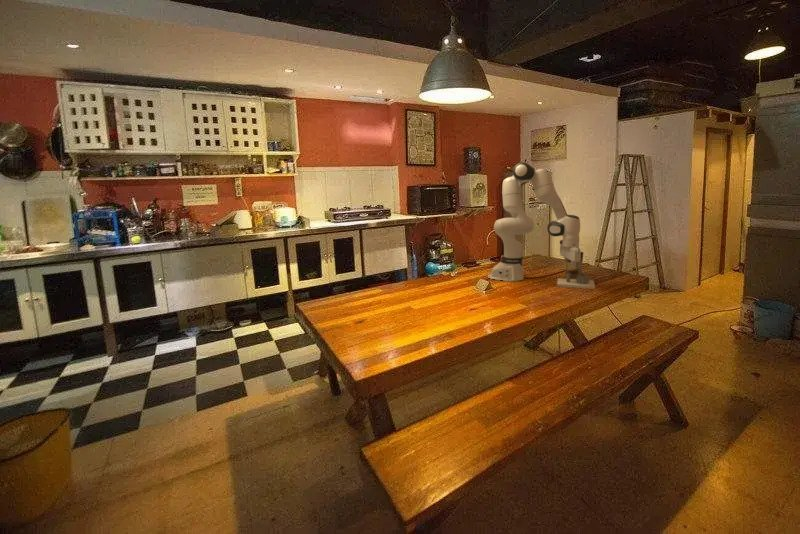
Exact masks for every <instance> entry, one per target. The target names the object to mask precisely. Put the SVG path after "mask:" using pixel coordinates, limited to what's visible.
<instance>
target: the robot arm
mask: <svg viewBox="0 0 800 534" xmlns="http://www.w3.org/2000/svg"><path fill="white" fill-rule="evenodd" d="M529 182H530V183H531V185H532V186H533V190H534V194H535V195H536V198H537V200H539V201H540V202H541V203H544V204H547V205H549V206H550V208H552V212H553V213H554V215H555V217H556V219H555V220H553V221H550V222H549V223H548V224H547V227H546V229H547V233H548V234H549V236H551V237H561V236H562V239H561V240H559V254H560V256H562V257H563V260H564V261H563V262H565V261H568V259H569V260H571V262H572V263H571V265H570V267H571V268H574V266H575V263H576V262H580V260H581V252H582V251H581V249H580V237H581V236H580V233H581V232H580V231H581V218H580V217H579V216H577V215H575V214H568V213H567V211H566V209H565V206H564V204H563V202H562V199H561V198H560V196H559V195H558V193H557V191H556V187H555V186H554V182H553V179H552V178H551V175H550V174H549V172H548V170H546V169H545V168H539V169H535V168H534V167H533V166H532V165H530V164H529V163H527V162H524V161H522V162H518V163H517V164H516V165H514V167H513V169H512V176H508V177H506V178H504V180H503V181H502V185H501V187H502V189H501V194H502V207H503V210H505V211H506V212H508V213H509V214H510V215H511V217H503V218H499V219H497V220H495V222H494V224H493V231H494V233H495V234H496V235H497V236H499V238H500V239H501V240H502V243H503V254H502V255H501V256H500V262H498V263H497V264H495V265H494V266H493V267H492V268H491V273H489V274H488V275H487V279H488V278H490V279H489V280H492V279H495V280H494V281H500V280H503V281H502V282H508V281H509V283H510V282H518V281H519V282H520V281H522V280H524V279H525V277H524V271H523V266H524V265H523V264H524V257H523V244H522V242H520V240H519V241H518V240H516V236H519V235H526V234H529V233H531V232H533V230H534V229H535V223H534V220H533V219H532V217H530V216H529V215H528V214H527V213H526V211H525V210H524V207H523V202H522V196H521V195H522V194H521V186H523V185H525V184H527V183H529Z"/></svg>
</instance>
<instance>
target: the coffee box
mask: <svg viewBox="0 0 800 534" xmlns="http://www.w3.org/2000/svg"><path fill="white" fill-rule="evenodd" d="M583 260H584V251H581V260H580V262H576V269H574V270H567V269H565V275H564V277H565V278H567V273H571V276H570V279H577V275H580V274H582V271H583V262H584V261H583ZM568 261H571V260H569V259H568Z"/></svg>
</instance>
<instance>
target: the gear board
mask: <svg viewBox="0 0 800 534" xmlns="http://www.w3.org/2000/svg"><path fill="white" fill-rule="evenodd" d="M570 276H571V273H567V277H566V278H560V277H559V278H558V277H557V282H556V286H557V287H563V288H575V289H576V288H577V289H588V290H589V289H591V290H595V289H596V285H595V284H596V283H595V281H594V280H591V279H590V275H588V274H586V273H585V272H583V273H582V274H580V275H577V278H570Z"/></svg>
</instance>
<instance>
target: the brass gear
mask: <svg viewBox="0 0 800 534" xmlns="http://www.w3.org/2000/svg"><path fill="white" fill-rule="evenodd" d="M571 263H572V262H571V261H563V269H564V270H566V269H567V270H574V269H576V263H575V266H574V268H571V267H570V265H571Z"/></svg>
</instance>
